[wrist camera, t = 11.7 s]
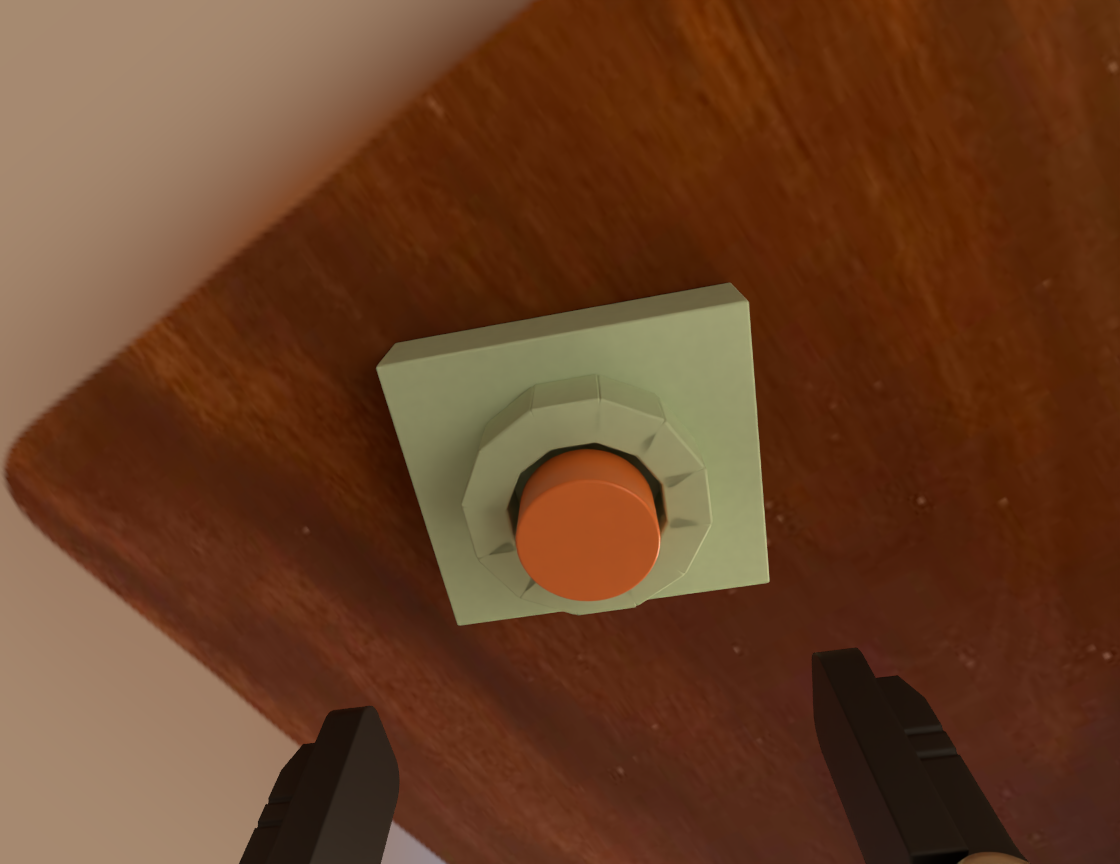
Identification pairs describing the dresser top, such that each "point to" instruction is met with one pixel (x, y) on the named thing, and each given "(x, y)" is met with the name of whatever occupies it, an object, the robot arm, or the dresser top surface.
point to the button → (587, 526)
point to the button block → (586, 440)
